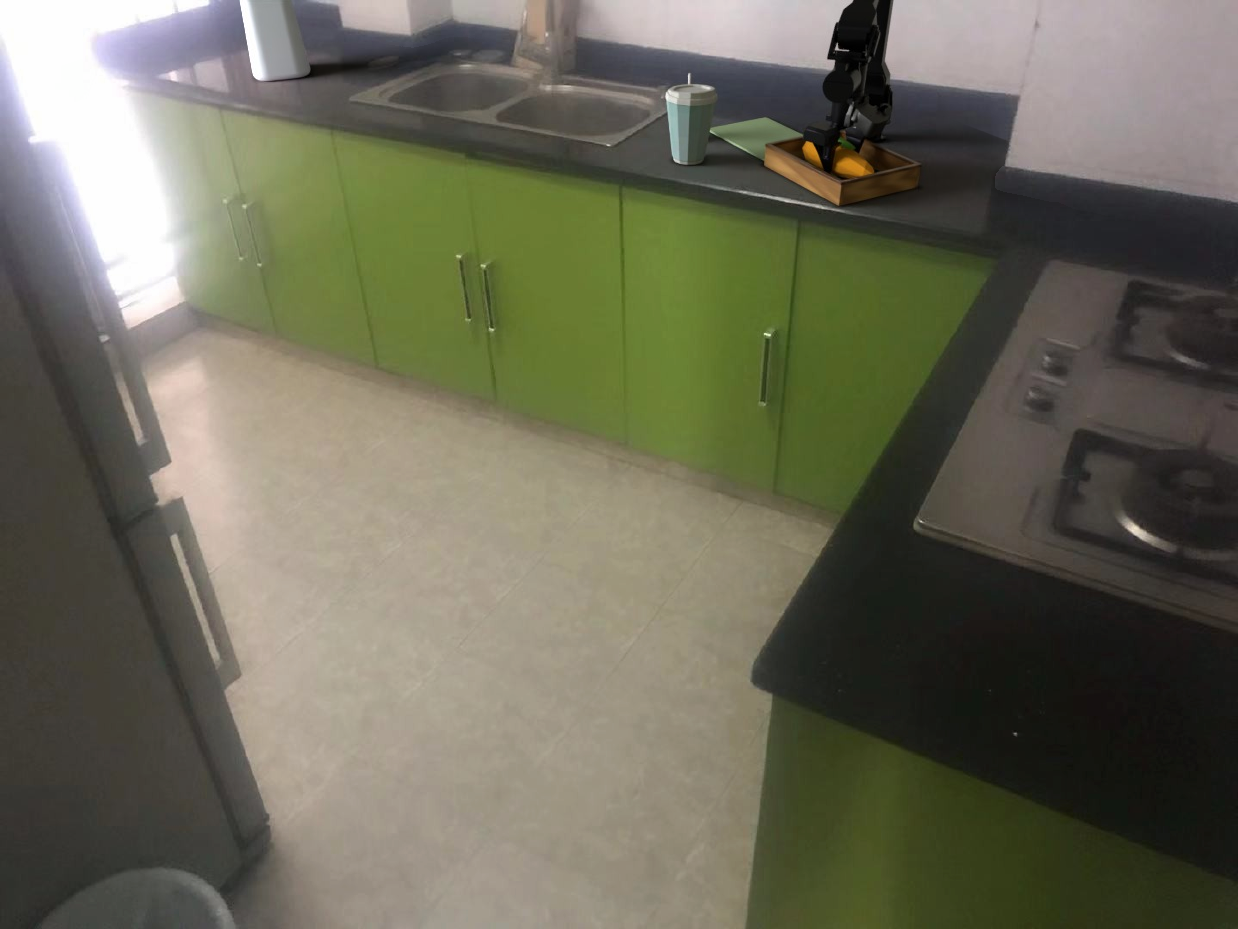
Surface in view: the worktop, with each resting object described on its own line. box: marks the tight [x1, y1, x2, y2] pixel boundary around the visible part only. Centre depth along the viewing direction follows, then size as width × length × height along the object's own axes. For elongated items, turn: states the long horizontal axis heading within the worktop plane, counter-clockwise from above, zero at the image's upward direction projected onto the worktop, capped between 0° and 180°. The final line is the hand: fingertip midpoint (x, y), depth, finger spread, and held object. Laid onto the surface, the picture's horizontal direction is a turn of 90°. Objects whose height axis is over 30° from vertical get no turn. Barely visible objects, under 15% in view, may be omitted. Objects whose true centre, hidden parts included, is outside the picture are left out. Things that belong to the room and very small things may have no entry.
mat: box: [710, 116, 803, 162], centre depth 209 cm, size 16×24×1 cm, turn 27°
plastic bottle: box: [239, 0, 311, 82], centre depth 253 cm, size 15×15×28 cm
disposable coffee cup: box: [664, 83, 719, 166], centre depth 196 cm, size 11×11×15 cm
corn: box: [803, 137, 875, 179], centre depth 189 cm, size 7×8×20 cm
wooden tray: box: [763, 131, 922, 207], centre depth 190 cm, size 19×25×5 cm
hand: (839, 168), depth 190 cm, fingers closed on corn, 7 cm apart
